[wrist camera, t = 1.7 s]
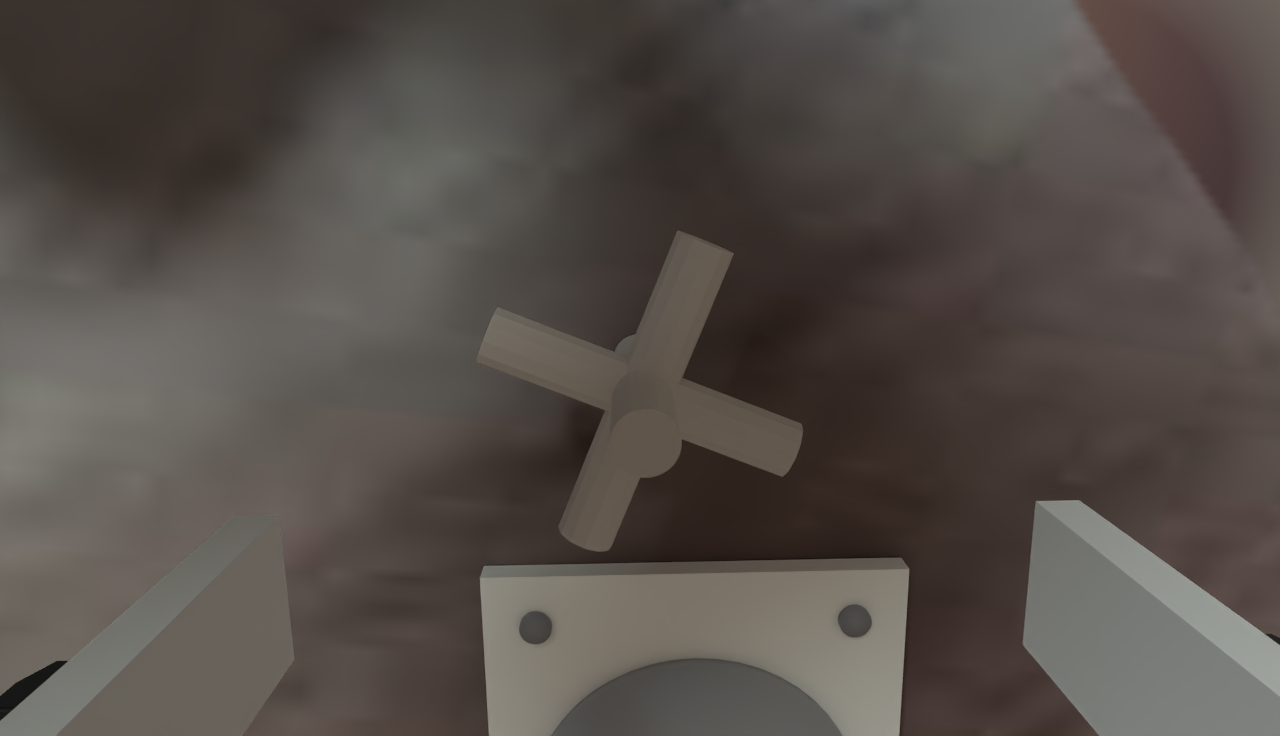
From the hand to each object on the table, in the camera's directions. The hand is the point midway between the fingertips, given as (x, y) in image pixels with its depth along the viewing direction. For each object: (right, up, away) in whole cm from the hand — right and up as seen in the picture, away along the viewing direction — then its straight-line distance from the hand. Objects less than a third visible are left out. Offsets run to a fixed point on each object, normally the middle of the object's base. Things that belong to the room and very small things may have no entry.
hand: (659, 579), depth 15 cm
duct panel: (+2, -14, +21) cm, 25 cm away
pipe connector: (0, +4, +17) cm, 17 cm away
